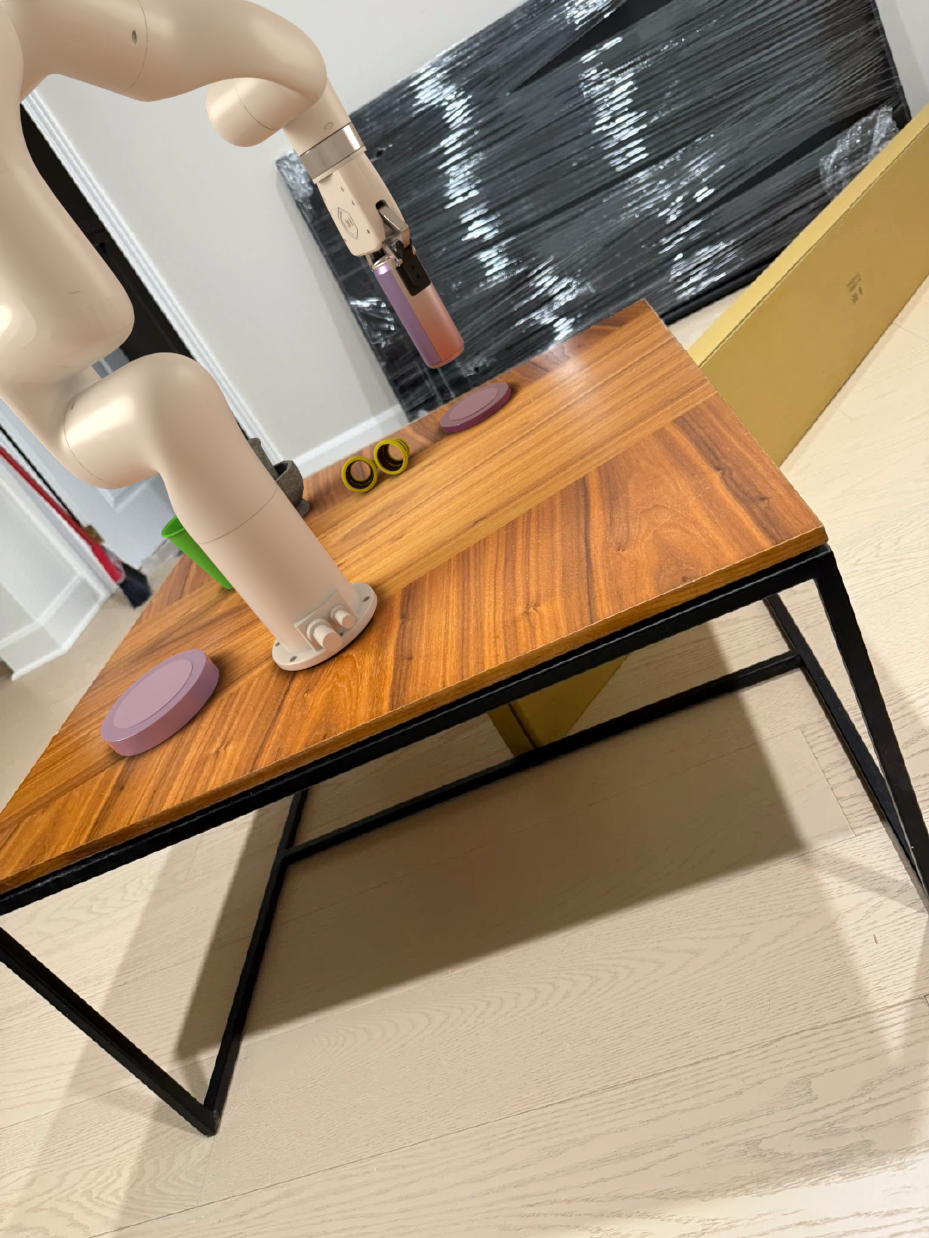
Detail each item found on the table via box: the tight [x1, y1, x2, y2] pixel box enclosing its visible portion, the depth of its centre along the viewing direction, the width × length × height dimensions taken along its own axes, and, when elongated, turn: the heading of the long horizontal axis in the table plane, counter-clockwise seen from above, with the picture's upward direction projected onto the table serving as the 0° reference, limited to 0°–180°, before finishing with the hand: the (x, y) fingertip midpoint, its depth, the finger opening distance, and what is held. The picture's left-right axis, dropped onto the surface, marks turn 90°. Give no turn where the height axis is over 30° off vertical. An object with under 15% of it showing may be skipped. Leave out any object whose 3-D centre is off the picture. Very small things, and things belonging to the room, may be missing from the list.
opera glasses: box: [341, 436, 411, 494], centre depth 115 cm, size 10×5×5 cm, turn 92°
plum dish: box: [439, 381, 512, 434], centre depth 118 cm, size 11×11×1 cm
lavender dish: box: [99, 648, 220, 757], centre depth 93 cm, size 14×14×2 cm
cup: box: [160, 515, 234, 590], centre depth 112 cm, size 9×9×11 cm
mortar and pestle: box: [246, 437, 310, 518], centre depth 121 cm, size 11×9×12 cm
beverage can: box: [372, 248, 465, 370], centre depth 111 cm, size 6×6×15 cm
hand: (410, 291), depth 109 cm, fingers closed on beverage can, 6 cm apart
